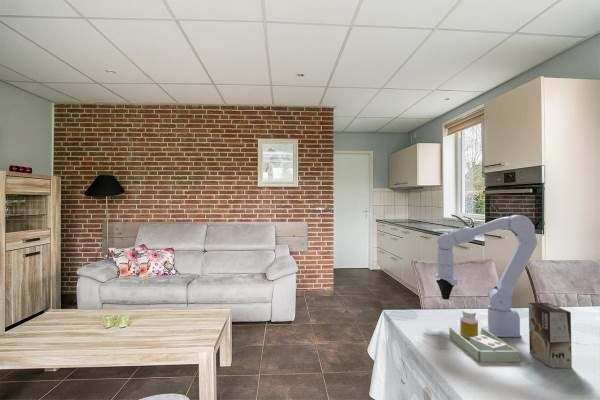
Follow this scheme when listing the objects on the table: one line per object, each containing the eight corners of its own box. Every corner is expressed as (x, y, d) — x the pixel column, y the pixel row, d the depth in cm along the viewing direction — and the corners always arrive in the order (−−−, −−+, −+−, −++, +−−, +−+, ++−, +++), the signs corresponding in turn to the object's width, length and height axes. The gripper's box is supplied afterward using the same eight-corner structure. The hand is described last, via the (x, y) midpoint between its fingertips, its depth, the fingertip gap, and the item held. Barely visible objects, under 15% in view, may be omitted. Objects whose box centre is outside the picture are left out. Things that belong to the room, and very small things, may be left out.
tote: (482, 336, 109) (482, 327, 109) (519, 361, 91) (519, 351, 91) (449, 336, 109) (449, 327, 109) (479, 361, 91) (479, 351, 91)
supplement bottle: (479, 343, 104) (480, 315, 103) (462, 341, 105) (462, 313, 105) (475, 335, 109) (475, 309, 109) (458, 334, 110) (458, 307, 110)
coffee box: (573, 368, 88) (572, 312, 88) (550, 368, 88) (550, 311, 88) (548, 353, 97) (547, 302, 97) (527, 352, 97) (527, 302, 97)
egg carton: (482, 346, 102) (482, 332, 102) (506, 357, 94) (506, 342, 94) (469, 349, 99) (469, 335, 99) (493, 361, 92) (493, 345, 92)
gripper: (427, 261, 128) (427, 293, 128) (444, 268, 113) (444, 304, 113) (444, 261, 128) (444, 293, 128) (463, 268, 114) (463, 304, 113)
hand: (445, 299), depth 120 cm, fingers closed
